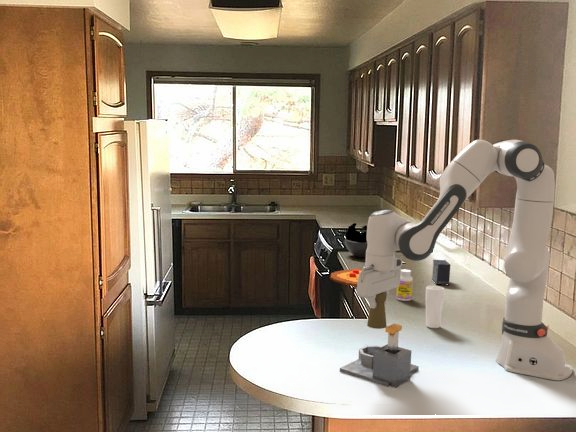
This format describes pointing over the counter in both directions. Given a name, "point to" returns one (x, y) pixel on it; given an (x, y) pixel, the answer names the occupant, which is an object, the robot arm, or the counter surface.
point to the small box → (441, 272)
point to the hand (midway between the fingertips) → (378, 306)
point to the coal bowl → (356, 241)
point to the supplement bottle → (405, 286)
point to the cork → (378, 313)
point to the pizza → (346, 276)
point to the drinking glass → (434, 305)
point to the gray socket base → (382, 366)
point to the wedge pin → (393, 337)
